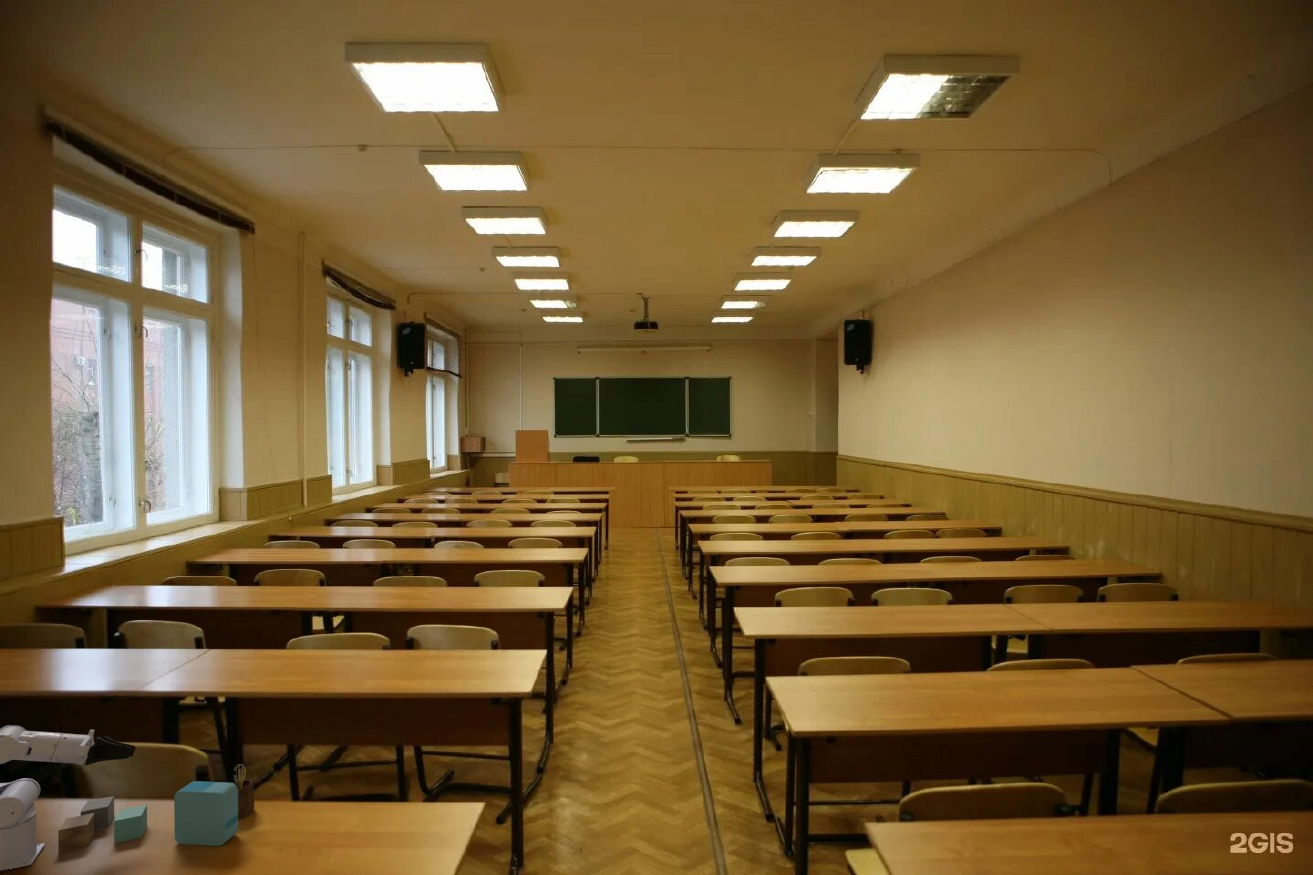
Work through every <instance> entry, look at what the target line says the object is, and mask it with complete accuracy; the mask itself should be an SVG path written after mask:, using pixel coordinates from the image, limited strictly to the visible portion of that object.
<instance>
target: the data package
mask: <svg viewBox="0 0 1313 875" xmlns="http://www.w3.org/2000/svg"><path fill="white" fill-rule="evenodd" d="M173 802H174V806H173V807H174V809H173V810H174V813H173V814H174V815H173V816H174V822H173V823H174V840H175V842H176V843H178V844H180V845H190V846H191V845H192V846H206V847H207V846H208V847H210V846H211V847H221V846H223V845H224V844H226V843H227V842H228V841H229V840H230V839H231V838H233V837H234V836H235V835H236V834H237V833H238V831H239V819H238V788H237V786H236V785H235V784H234V782H222V781H221V782H220V781H219V782H218V781H203V780H202V781H201V780H199V781H198V780H197V781H196V780H195V781H194V780H193V781H191V782H190V783H188V784H187V785H185V786H183V787H182V788H180V789H179V790H178V791H176V793H175V794H174V798H173Z"/></svg>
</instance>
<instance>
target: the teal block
mask: <svg viewBox="0 0 1313 875" xmlns="http://www.w3.org/2000/svg"><path fill="white" fill-rule="evenodd" d="M114 818H115V819H114V820H113V842H114V844H115V843H121V842H125V841H130V840H135V839H139V838H142V837H143V835H144V834H145V831H146V830H147V827H148V804H143V805H138V806H132V807H128V808H123V809H119V812H118V813H117V814H116V817H114Z"/></svg>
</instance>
